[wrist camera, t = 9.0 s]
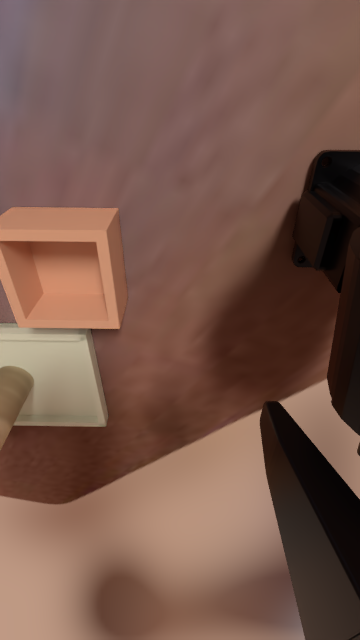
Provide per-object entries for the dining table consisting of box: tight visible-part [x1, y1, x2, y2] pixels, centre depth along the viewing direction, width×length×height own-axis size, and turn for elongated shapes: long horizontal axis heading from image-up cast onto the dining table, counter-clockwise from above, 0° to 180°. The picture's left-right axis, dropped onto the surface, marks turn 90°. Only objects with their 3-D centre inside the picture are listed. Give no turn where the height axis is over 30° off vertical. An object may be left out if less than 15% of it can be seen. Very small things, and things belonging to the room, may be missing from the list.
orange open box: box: [0, 207, 128, 329], centre depth 19 cm, size 6×6×4 cm
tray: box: [0, 323, 108, 427], centre depth 27 cm, size 14×11×1 cm
